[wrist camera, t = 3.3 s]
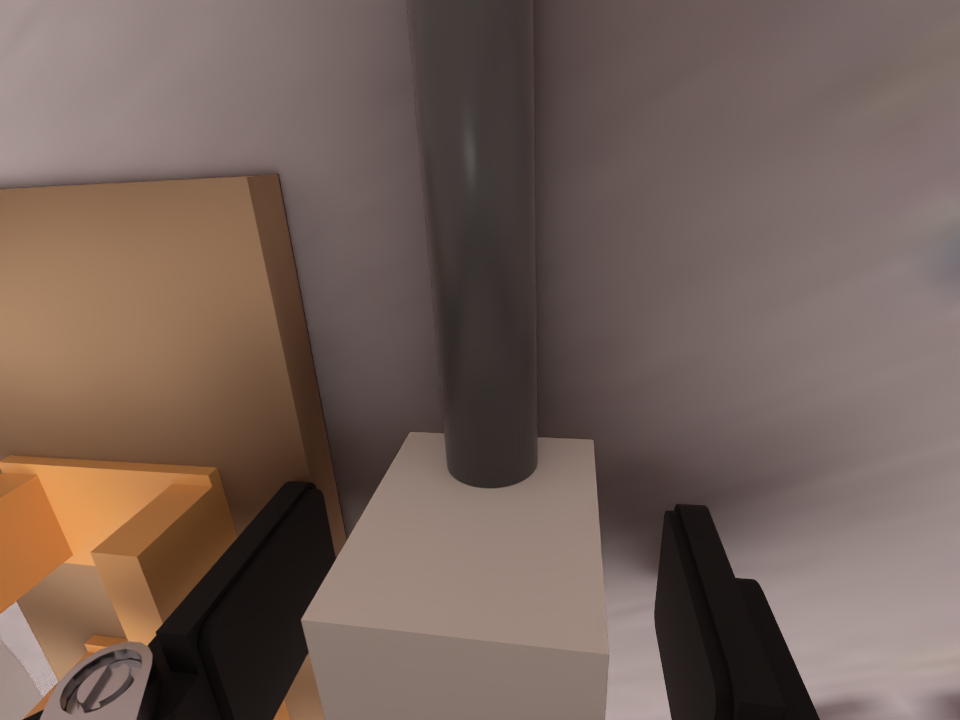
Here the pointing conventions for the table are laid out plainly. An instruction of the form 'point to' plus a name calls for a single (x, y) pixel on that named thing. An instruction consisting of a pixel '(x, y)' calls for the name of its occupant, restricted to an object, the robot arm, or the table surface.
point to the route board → (157, 360)
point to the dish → (15, 687)
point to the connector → (473, 438)
